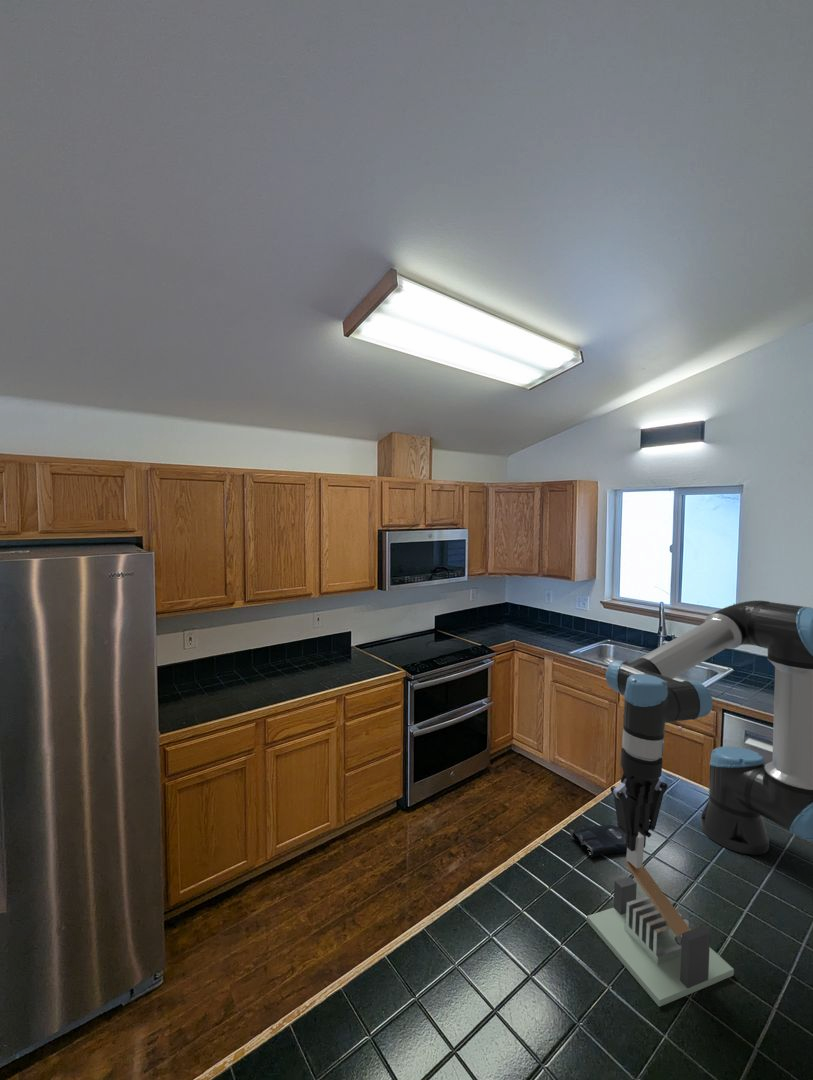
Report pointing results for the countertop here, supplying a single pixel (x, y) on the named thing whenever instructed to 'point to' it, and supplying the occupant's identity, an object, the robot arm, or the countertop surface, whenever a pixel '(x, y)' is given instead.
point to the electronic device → (601, 839)
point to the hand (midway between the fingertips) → (634, 862)
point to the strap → (660, 901)
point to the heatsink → (651, 930)
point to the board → (658, 981)
